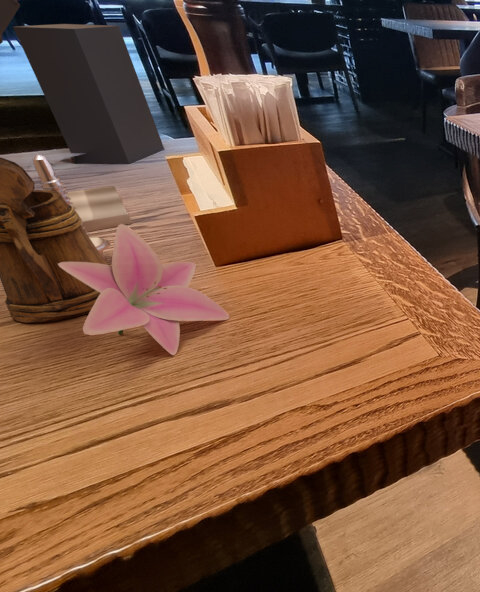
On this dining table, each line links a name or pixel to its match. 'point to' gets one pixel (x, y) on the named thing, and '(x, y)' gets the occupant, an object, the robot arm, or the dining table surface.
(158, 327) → the lily
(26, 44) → the pedestal
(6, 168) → the wooden mug
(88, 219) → the board
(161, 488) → the dining table surface
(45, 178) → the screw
